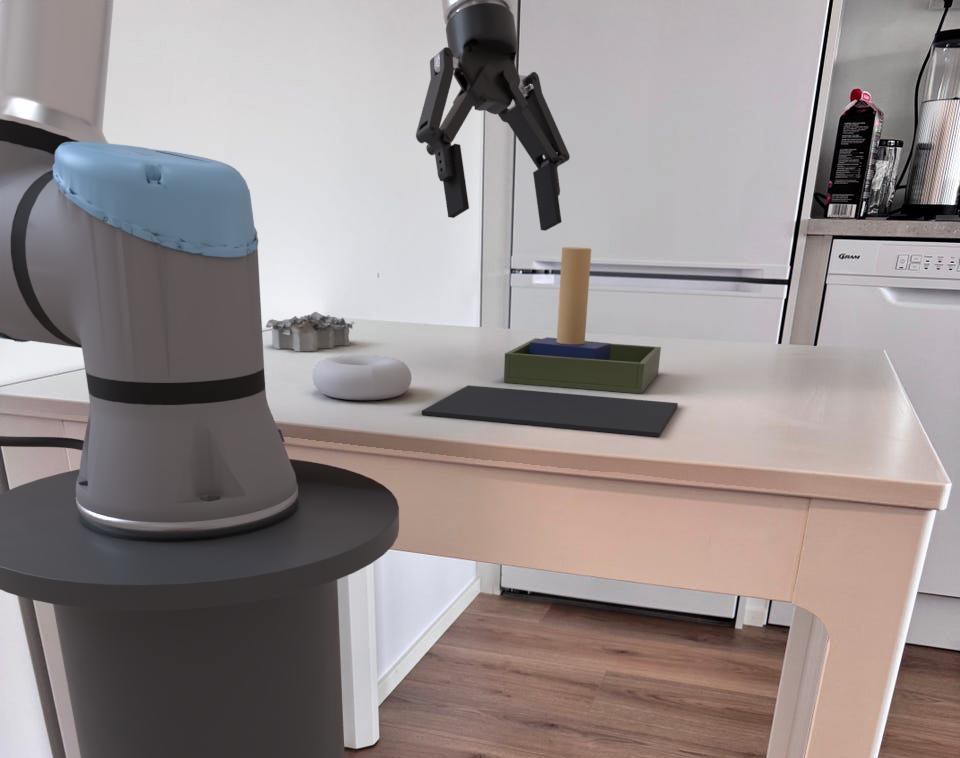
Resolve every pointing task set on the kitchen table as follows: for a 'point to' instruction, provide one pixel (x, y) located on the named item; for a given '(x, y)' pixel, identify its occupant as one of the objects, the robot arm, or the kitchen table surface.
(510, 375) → the tray
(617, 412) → the mat
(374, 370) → the donut
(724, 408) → the kitchen table surface
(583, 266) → the brush
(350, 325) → the egg carton
